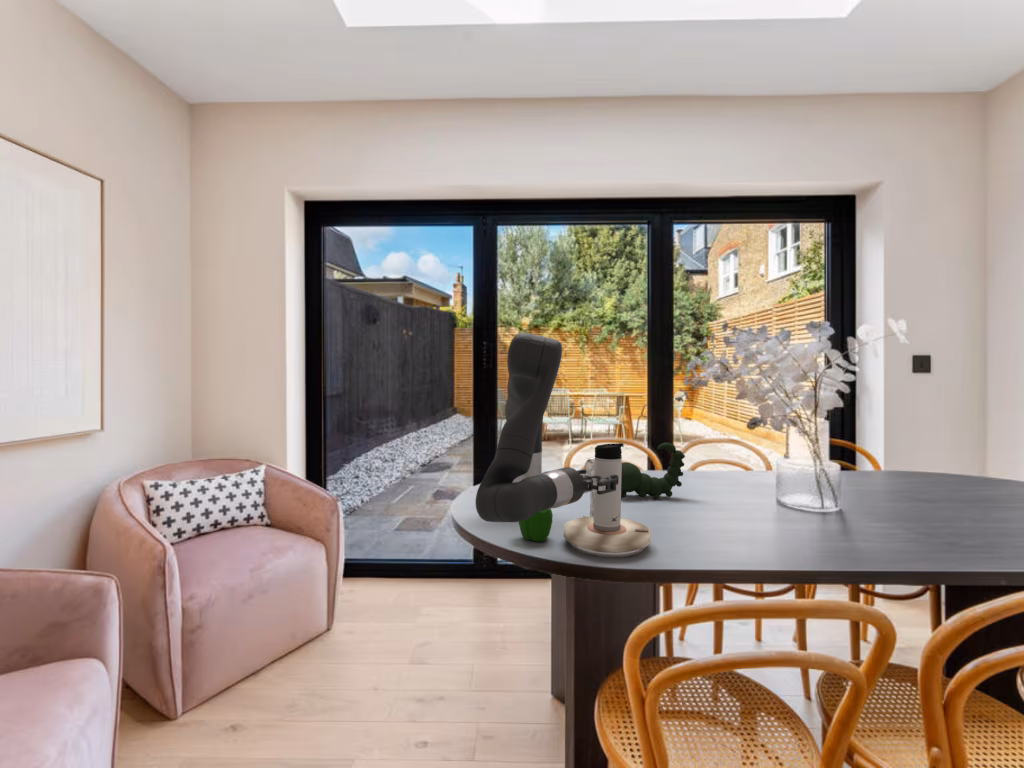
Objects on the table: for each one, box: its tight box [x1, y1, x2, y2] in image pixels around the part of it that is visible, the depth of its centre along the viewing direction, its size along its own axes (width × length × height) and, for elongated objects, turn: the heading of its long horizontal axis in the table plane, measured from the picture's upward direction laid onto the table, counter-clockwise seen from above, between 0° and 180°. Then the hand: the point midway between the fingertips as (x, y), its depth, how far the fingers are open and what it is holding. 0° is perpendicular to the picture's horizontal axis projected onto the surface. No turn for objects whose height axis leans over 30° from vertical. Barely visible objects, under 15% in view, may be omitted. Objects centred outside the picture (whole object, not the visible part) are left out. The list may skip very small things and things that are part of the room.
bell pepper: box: [518, 509, 554, 542], centre depth 130 cm, size 8×8×10 cm
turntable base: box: [569, 542, 644, 559], centre depth 127 cm, size 17×17×1 cm
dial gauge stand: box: [582, 456, 595, 517], centre depth 141 cm, size 6×8×18 cm
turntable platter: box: [563, 516, 652, 552], centre depth 126 cm, size 20×20×2 cm
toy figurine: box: [621, 442, 686, 501], centre depth 171 cm, size 9×19×25 cm
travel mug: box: [593, 442, 624, 532], centre depth 126 cm, size 6×7×20 cm
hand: (600, 476), depth 123 cm, fingers open, 8 cm apart
